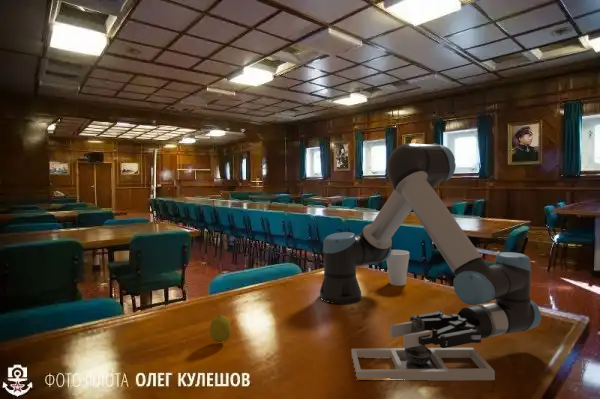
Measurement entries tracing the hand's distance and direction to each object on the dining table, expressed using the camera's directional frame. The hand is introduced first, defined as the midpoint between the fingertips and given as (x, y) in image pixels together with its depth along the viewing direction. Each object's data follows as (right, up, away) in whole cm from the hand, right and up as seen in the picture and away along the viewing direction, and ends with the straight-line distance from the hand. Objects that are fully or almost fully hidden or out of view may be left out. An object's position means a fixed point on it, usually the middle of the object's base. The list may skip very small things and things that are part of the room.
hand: (397, 336), depth 78 cm
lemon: (-43, -9, +17) cm, 47 cm away
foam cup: (+18, -4, +66) cm, 69 cm away
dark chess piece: (+5, -8, +2) cm, 10 cm away
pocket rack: (+5, -8, +2) cm, 10 cm away
